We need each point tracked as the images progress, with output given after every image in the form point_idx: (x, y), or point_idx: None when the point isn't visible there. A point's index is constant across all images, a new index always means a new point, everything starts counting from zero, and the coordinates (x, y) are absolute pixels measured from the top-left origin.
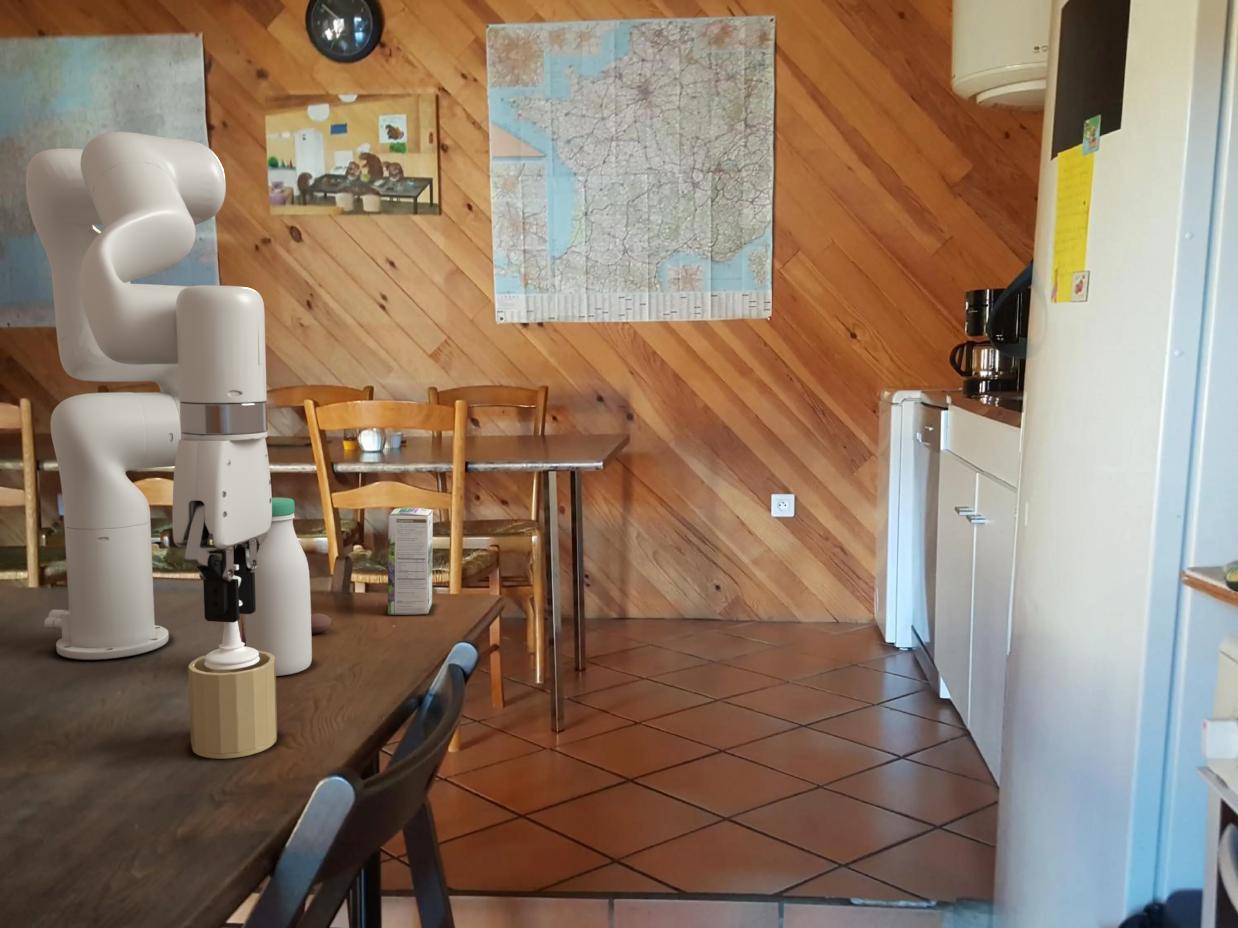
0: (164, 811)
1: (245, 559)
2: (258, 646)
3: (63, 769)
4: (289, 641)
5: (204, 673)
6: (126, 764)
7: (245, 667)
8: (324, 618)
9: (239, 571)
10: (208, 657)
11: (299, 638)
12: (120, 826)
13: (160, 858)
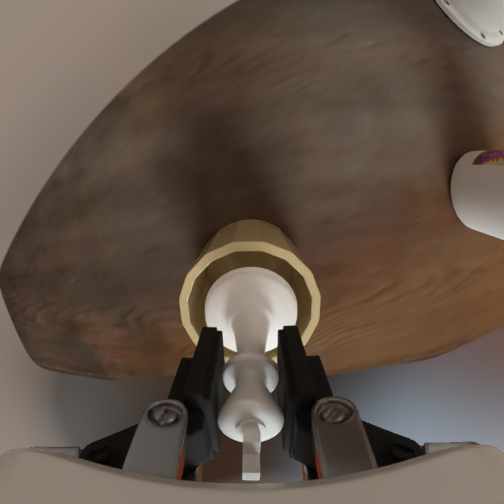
0: (95, 287)
1: (316, 469)
2: (472, 186)
3: (141, 126)
4: (482, 225)
5: (180, 301)
6: (166, 181)
7: (306, 288)
8: None
9: (292, 439)
10: (216, 292)
11: (489, 233)
12: (67, 268)
13: (53, 322)
